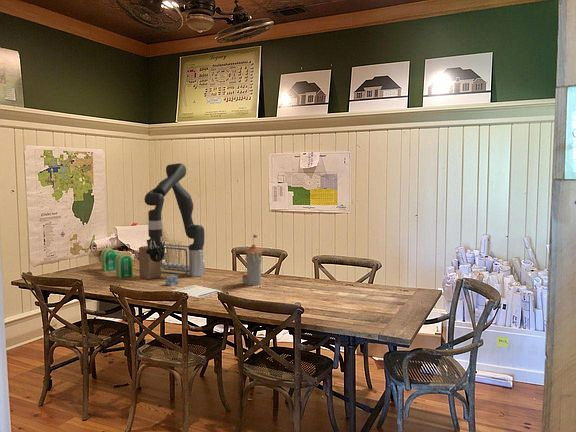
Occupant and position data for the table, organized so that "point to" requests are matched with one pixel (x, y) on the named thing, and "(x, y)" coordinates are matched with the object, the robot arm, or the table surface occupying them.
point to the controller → (153, 254)
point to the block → (148, 265)
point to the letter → (197, 291)
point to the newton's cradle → (169, 265)
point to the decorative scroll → (117, 263)
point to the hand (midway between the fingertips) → (156, 257)
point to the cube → (172, 280)
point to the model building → (253, 265)
